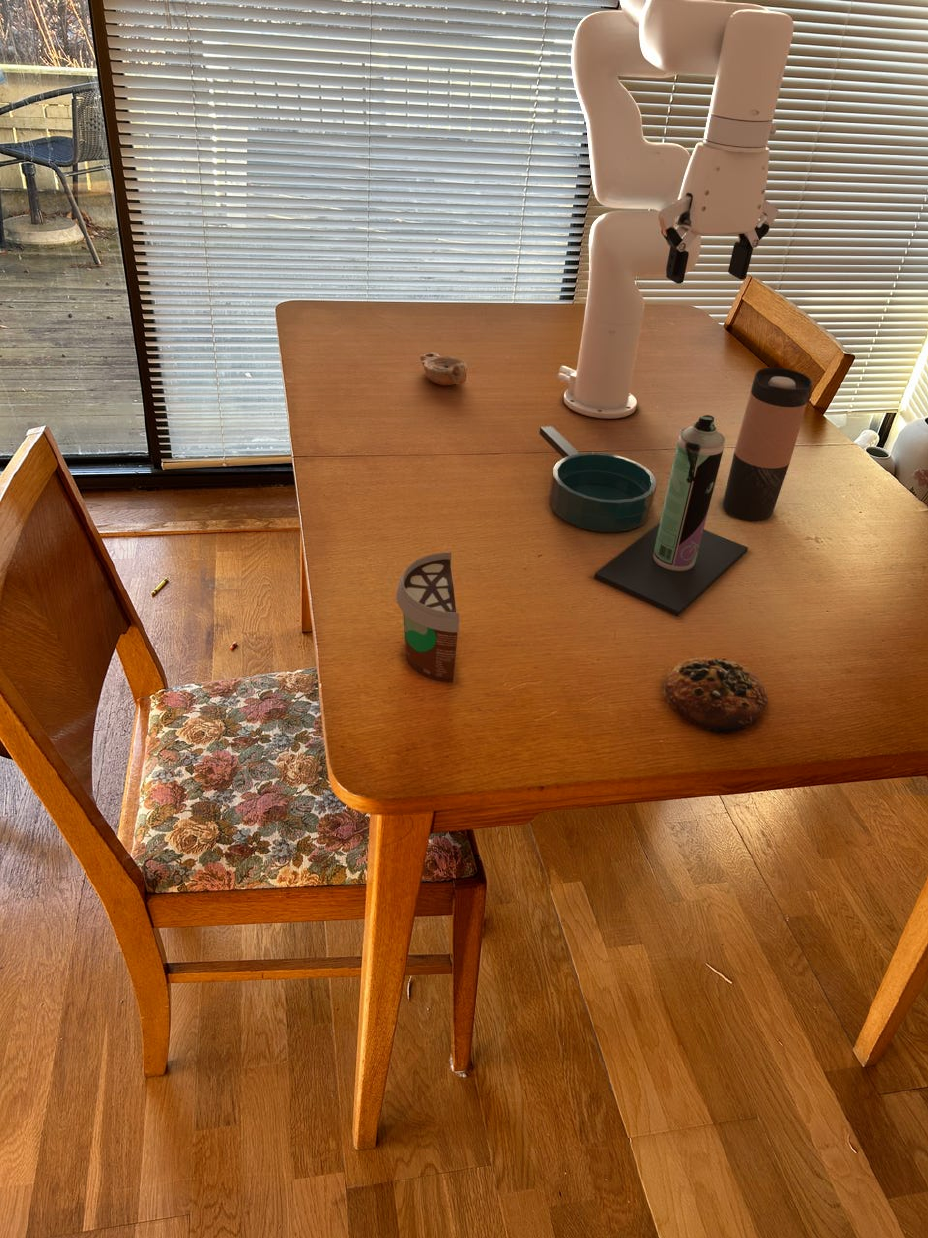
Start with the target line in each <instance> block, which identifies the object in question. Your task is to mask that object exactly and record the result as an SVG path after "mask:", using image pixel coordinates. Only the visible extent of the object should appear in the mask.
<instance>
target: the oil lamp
mask: <svg viewBox="0 0 928 1238" xmlns="http://www.w3.org/2000/svg"><path fill="white" fill-rule="evenodd" d="M419 359H420V361H421V363H422V366H423V370H424V372H425V375H426V377H427V378H428V379H429V380H430V381H431V382H432V383H434V384H437V385H440V386H452V385H455V384H456V385H459V384H464V383H466V382H467V371H468V365H467V364H466V363H465V362H464V361H463V360H461V359H459V358H455V357H452V356H451V355H447V356H441V355H439V353H438V352H426V353H424V354H422V355H420V357H419Z"/></svg>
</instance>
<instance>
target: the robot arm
mask: <svg viewBox="0 0 928 1238" xmlns="http://www.w3.org/2000/svg"><path fill="white" fill-rule="evenodd" d="M619 4H620V7H621V10H616V9H615V10H602V11H596V12H594V13H591V14H589V15H587V16H585V17H584V18H583V19H582V20H581V21H580V22H579V23H578V25H577V27H576V29H575V32H574V35H573V40H572V44H571V45H572V46H571V73H572V79H573V85H574V89H575V92H576V96H577V98H578V102H579V104H580V108H581V111H582V113H583V116H584V120H585V123H586V129H587V144H588V153H589V164H590V173H591V174H590V175H591V182H592V188H593V193H594V196H595V199H596V200H597V202H598V203H599V204H600V205H601V206H604V207H607V208H613V209H618V210H613V211H609V212H606V213H603V214H602V215H601V214H600V216H599V217H597V218H596V220H594V222H593V223H592V225H591V227H590V231H589V237H588V282H587V283H588V286H587V294H586V302H585V308H584V317H583V324H582V331H581V337H580V345H579V352H578V359H577V364H576V365H577V367H576V370H575V369H573V368H570V367H568V366H565V365H560V367H559V369H558V374H557V377H556V380H557V382H560V383H563V384H566V385H567V386H568V389H566V390H565V392H564V395H563V402H564V404H565V405H566V406H567V407H568V408H569V409H570V410H572V411H573V412H575V413H578V414H580V415H583V416H586V417H591V418H597V419H604V420H605V419H607V420H611V419H619V418H621V419H622V418H625V417H627V416H628V417H629V416H630V415H632V414H633V413H634V412H635V411H636V409H637V404H638V401H637V399H636V397H635V396H634V395H633V394H632V393H630V392H631V387H632V382H633V378H634V377H633V376H634V371H635V367H636V366H635V365H636V359H637V353H638V349H639V342H640V338H641V334H642V333H641V331H642V327H643V322H644V316H645V315H644V314H645V300H644V297H643V294H642V293H641V290H640V289H639V287H638V286H637V284H636V280H635V279H637V278H638V277H666V278H667V279H668V280H669V281H671V282H674V283H675V284H677V285H679V284H680V285H681V284H683V283H684V281H685V275H686V274H687V273H690V272H691V271H692V270H693V269H694V268H695V266H696V265H697V263H698V260H699V257H700V254H701V248H702V247H701V246H702V236H724V235H725V236H726V235H736V236H737V238H738V240H739V241H735V242H734V244H733V247H732V252H731V256H730V261H729V264H728V269H727V273H728V274H729V275H731V276H733V277H735V278H736V279H739V280H740V281H742V280H743V281H744V280H746V279H747V275H748V271H749V267H750V265H751V261H752V255H753V253H754V252H753V251H754V249H756V248H758V246H759V245H760V241H761V240H762V239H763V238H764V237H765V236H766V235H767V234H768V233H769V231H770V226H772V224H773V223H774V221H775V220H776V218H777V217H778V215H779V213H780V211H779V209H778V207H776V206H775V205H773V204H772V203H770V201H768V200H767V199H765V194H766V189H767V182H768V175H769V166H770V148H769V147H767V146H768V143H769V137H770V136H771V135H772V136H773V135H775V134H776V132H777V129H778V125H777V123H776V122H774V117H775V113H776V108H777V103H778V100H779V95H780V91H781V87H782V83H783V79H784V74H785V69H786V66H787V62H788V57H789V53H790V49H791V44H792V40H793V35H794V29H795V28H794V26H795V25H794V20H793V18H792V17H791V16H790V15H788V14H787V13H784V12H779V11H772V10H769V9H768V8H767V7H764V6H763V5H759V4H754V3H743V2H729V1H727V0H619ZM677 75H697V76H699V75H700V76H701V75H702V76H715V80H714V83H713V84H714V85H713V88H712V89H713V90H712V94H711V100H710V104H709V109H708V115H707V120H706V124H705V130H704V133H703V134H704V135H703V141H699V142H697V143H696V144H695V146H694V149H693V151H692V153H691V154H690V152H689V151H688V150H687V149H686V147H684V146H682V145H680V144H678V143H672V142H653V141H649V140H647V139H646V138H645V136H644V132H643V120H642V114H641V110H640V107H639V106H638V104H637V102H636V100H635V99H634V98H633V95H632V94H631V93H630V92H629V90H628V89H627V88H626V87H625V86H624V85H623V84H622V83H621V81H620V80H619V78H618V77H626V78H627V77H628V78H629V77H630V78H648V79H669V78H673V77H676V76H677ZM619 209H621V210H619Z"/></svg>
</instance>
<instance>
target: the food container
mask: <svg viewBox="0 0 928 1238" xmlns="http://www.w3.org/2000/svg"><path fill="white" fill-rule="evenodd" d="M454 588H455V587H454V581H453V574H452V552H438V553H437V552H436V553H432V554H428V555H426V556H423V557H419V558H418V559H416V560H415V561H413V562H412V563H411V564H410V565H408V566H407V567H406V569H405V570H404V572H403V574H402V575H401V577H400V579H399V583H398V586H397V590H396V597H395V598H396V603H397V605H398V608H399V609H400V610H401V611H402V612H403V613H402V615H403V616H402V617H403V629H404V630H403V632H404V633H403V634H404V649H405V651H404V652H405V660H406V662H407V664H408V665H409V667H410V668H411V669H412V670H413V671H415V672H416V673H417V674H419V675H420V676H423V677H424V678H427V679H430V680H432V681H437V682H443V683H454V677H455V667H456V656H457V647H458V644H457V643H458V636H459V635H458V633H460V632H459V631H460V612H457V606H456V605H457V604H456V600H455V599H456V597H455V589H454Z"/></svg>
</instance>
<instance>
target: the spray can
mask: <svg viewBox="0 0 928 1238" xmlns="http://www.w3.org/2000/svg"><path fill="white" fill-rule="evenodd" d="M725 442H726V437H725V436H724V435H723V434H722V433H721V432H720V431H718V429H717V427H716V425H715V417H714V416H713V415H709V414H706V415H705V414H704V415H702V416H700V417H699V418H698V421H696V422H695V423H693V425H692V426H687V427H685V428H682V430H681V431H680V435H679V436H678V439H677V443H676V448H675V453H674V457H673V462H672V465H671V470H670V471H671V472H670V475H669V480H668V485H667V489H666V494H665V499H664V504H663V508H662V513H661V517H660V522H659V523H660V526H659V530H658V535H657V539H656V544H655V548H654V553H653V559H654V561H655V562H656V563H657V564H658V565H660V566H662V567H664V568H666V569H669V570H674V571H684V570H688V569H690V568H692V567H693V566H694V564H695V561H696V557H697V553H698V549H699V545H700V541H701V537H702V533H703V529H704V530H705V526H706V521H707V518H708V513H709V510H710V505H711V501H712V496H713V493H714V490H715V485H716V481H717V477H718V474H719V470H720V466H721V462H722V459H723V454H724V449H725Z"/></svg>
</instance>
